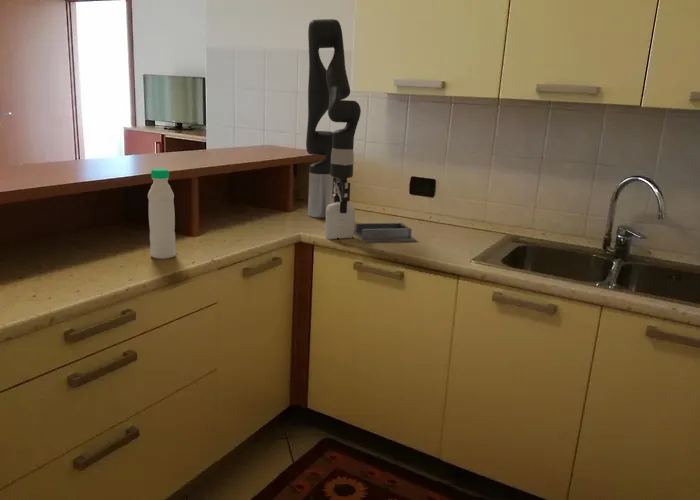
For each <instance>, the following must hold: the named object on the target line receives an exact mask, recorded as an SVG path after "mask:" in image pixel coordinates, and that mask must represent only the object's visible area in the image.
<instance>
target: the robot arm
mask: <svg viewBox="0 0 700 500" xmlns="http://www.w3.org/2000/svg"><path fill="white" fill-rule="evenodd" d="M307 30H308V31H307V34H308V35H307V38H308V58H309V59H308V60H309V62H308V82H307V83H308V85H307V86H308V87H307V90H308V91H307V110H308V111H307V112H308V115H307V128H306V138H305V140H306V142H305V143H306V144H305V145H306V148H305V150H306V152H307V154H309V155H312V156H324V158H323V159H321V160H320V161H318V162H313V163H311V164H310V165H309V168H308V175H309V176H308V201H307V202H308V203H307V207H308V208H307V215H308V216H309V217H312V218H318V219H320V218H323V219H324V218H325V219H326V207H327V205H329V204H332V203H336V202H340V213H347V203H349V202H350V200H351V197H350V196H351V182H348V179H350V178H352V177H354V163H355V162H354V159H355V158H354V156H355V155H354V153H355V152H354V146H355V145H354V144H355V135H356V131H357V126H358V125H359V124H358V123H359V121H360V119H361V109H362V108H361V106H360V103H358V102H357V101H355V100H347V98H348V97H349V96H350V94H351V89H350V88H351V87H350V83H349V80H348V79H349V78H348V75H347V74H348V73H347V70H346V60H345V59H346V58H345V57H346V56H345V49H344V48H345V46H344V37H343V30H342V26H341V23H340V21H339V20H338V19H334V18H328V19H327V18H326V19H324V18H323V19H320V18H319V19H312V20H310V22H309V24H308V29H307ZM332 48H333V49H334V51H333V56H332V58H331V60H330V63H329V65H328V66H327V68H326V67H325V65H324V63H323V62H322V59H321V56H320V49H332ZM345 99H346V100H345ZM326 113H327V114H328V117H329V119H330V120H331V122H333V123H334V122H335V123H344V124H345V123H346V124H345V127H343V128H341V129H336V130H334V131H328V130H327V131H325V130H316V129H317V127H318V124H319V123H320V121H321V119H322V118H323V117H324V115H325V114H326ZM332 197H333V198H332ZM332 200H333V201H332Z"/></svg>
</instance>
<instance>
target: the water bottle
mask: <svg viewBox="0 0 700 500" xmlns="http://www.w3.org/2000/svg"><path fill="white" fill-rule="evenodd" d="M150 175H151V176H150V177H151V179H152V180H153V181H152V182H153V183H152V184H151V186H150V188H149V190H148V193H147V199H148V225H149V242H150V245H149V246H150V247H149V254H150V256H151V257H152V258H154V259H158V260H165V259H166V260H167V259H171V258H174V257H175V256H176V254H177V248H176V232H175V229H176V227H175V226H176V222H175V221H176V217H175V214H176V213H175V204H174V203H175V201H174V198H175V194H174V192H173V189H172V187H171V185H170V184H169V182H168V180H169V178H170V171H169V170H168V169H166V168H154V169H152V170H151V172H150Z"/></svg>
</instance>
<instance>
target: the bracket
mask: <svg viewBox="0 0 700 500" xmlns="http://www.w3.org/2000/svg"><path fill="white" fill-rule="evenodd" d="M354 235H356V236H357V235H358V236H359V237H360V238H361V239H360V238H359V237H358V236H357V237H358V238H359V239H360V240H362V241H363V242H364V241H365V242H364V243H391V242H392V243H396V242H416V238H415V237H413V236H412V228H411V227H409V226H407V225H406V224H405V223H403V222H370V223H368V222H367V223H366V222H362V223H360V222H359V223H357V222H356V223H355V226H354Z"/></svg>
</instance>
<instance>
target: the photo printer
mask: <svg viewBox="0 0 700 500" xmlns="http://www.w3.org/2000/svg"><path fill="white" fill-rule="evenodd" d="M355 218H356V206H355V204H353V203H350V202H347V213H340V202H336V203H334V202H332V204H329V205H327V207H326V217H325V233H324V234H325V235H324V236H325V239H326V240H337V238H339V239H348V238H349V239H350V238H352V237H353V238H354V237H355V233H354V230H355V225H356V223H355V222H356V221H355Z"/></svg>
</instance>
